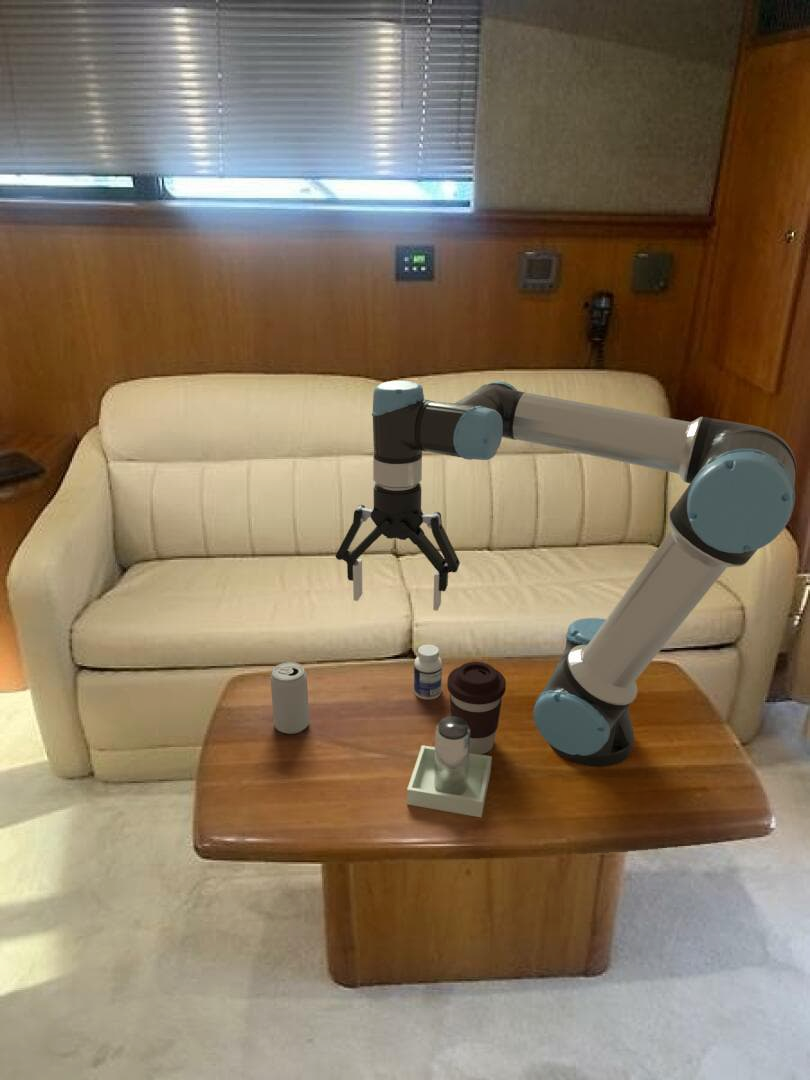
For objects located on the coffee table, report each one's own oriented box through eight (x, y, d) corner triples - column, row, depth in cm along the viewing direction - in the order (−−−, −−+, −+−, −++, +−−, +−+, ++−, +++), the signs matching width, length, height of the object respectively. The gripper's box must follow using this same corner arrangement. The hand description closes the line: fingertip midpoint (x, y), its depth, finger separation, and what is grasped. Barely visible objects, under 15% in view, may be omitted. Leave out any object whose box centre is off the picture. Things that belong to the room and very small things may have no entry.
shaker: (469, 776, 131) (473, 717, 126) (464, 799, 126) (467, 738, 121) (437, 770, 132) (439, 712, 127) (431, 793, 127) (432, 733, 122)
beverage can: (303, 738, 140) (299, 682, 135) (269, 734, 141) (264, 678, 136) (314, 717, 146) (311, 662, 141) (281, 712, 147) (277, 658, 142)
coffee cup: (451, 764, 134) (454, 691, 128) (440, 728, 143) (442, 658, 137) (507, 758, 136) (513, 686, 130) (493, 723, 145) (498, 654, 138)
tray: (490, 770, 133) (491, 756, 132) (481, 817, 123) (482, 802, 122) (421, 759, 135) (421, 745, 134) (407, 804, 126) (407, 789, 124)
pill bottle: (415, 683, 156) (416, 641, 152) (442, 685, 155) (444, 643, 151) (412, 699, 151) (412, 656, 147) (440, 701, 151) (441, 658, 146)
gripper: (480, 481, 123) (474, 599, 132) (328, 467, 128) (332, 583, 137) (473, 498, 117) (467, 622, 125) (313, 483, 122) (318, 603, 131)
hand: (397, 601), depth 131 cm, fingers open, 13 cm apart
